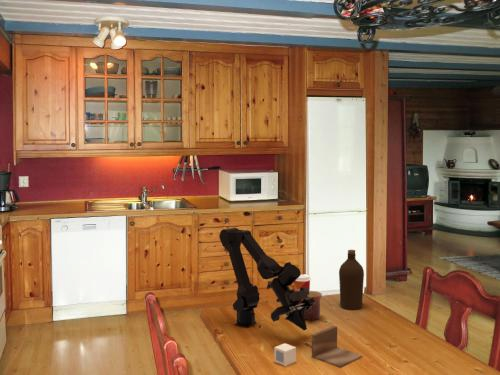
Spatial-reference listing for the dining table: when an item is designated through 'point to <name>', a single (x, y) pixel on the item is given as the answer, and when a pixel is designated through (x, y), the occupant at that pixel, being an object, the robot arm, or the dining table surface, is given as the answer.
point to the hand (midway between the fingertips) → (305, 329)
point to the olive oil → (351, 283)
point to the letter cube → (285, 354)
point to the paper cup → (302, 283)
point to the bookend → (331, 348)
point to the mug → (313, 306)
